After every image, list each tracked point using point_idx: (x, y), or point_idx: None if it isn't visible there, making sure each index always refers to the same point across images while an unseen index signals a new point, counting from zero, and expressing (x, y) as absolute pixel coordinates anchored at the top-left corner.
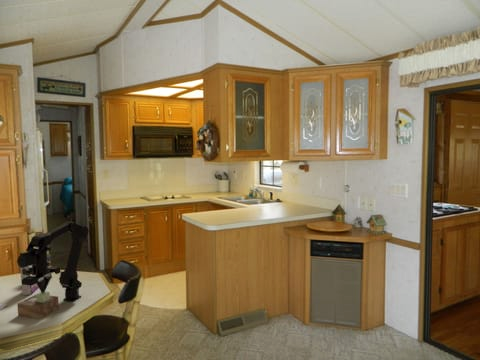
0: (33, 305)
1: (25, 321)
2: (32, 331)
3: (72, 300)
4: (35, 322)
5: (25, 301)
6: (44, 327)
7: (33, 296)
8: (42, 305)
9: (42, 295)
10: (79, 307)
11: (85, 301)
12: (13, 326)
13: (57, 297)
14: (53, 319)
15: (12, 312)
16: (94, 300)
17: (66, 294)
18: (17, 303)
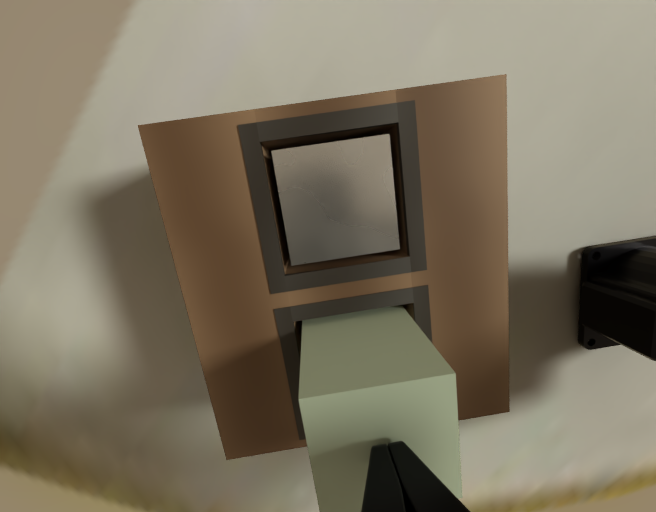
0: (215, 379)
1: (169, 313)
2: (109, 484)
3: (585, 341)
4: (199, 393)
5: (243, 171)
6: (186, 501)
7: (412, 115)
8: (274, 446)
9: (318, 501)
10: (502, 458)
11: (601, 417)
12: (67, 306)
13: (495, 408)
14: (292, 458)
15: (216, 19)
16: (629, 457)
17: (634, 320)
18: (139, 126)
